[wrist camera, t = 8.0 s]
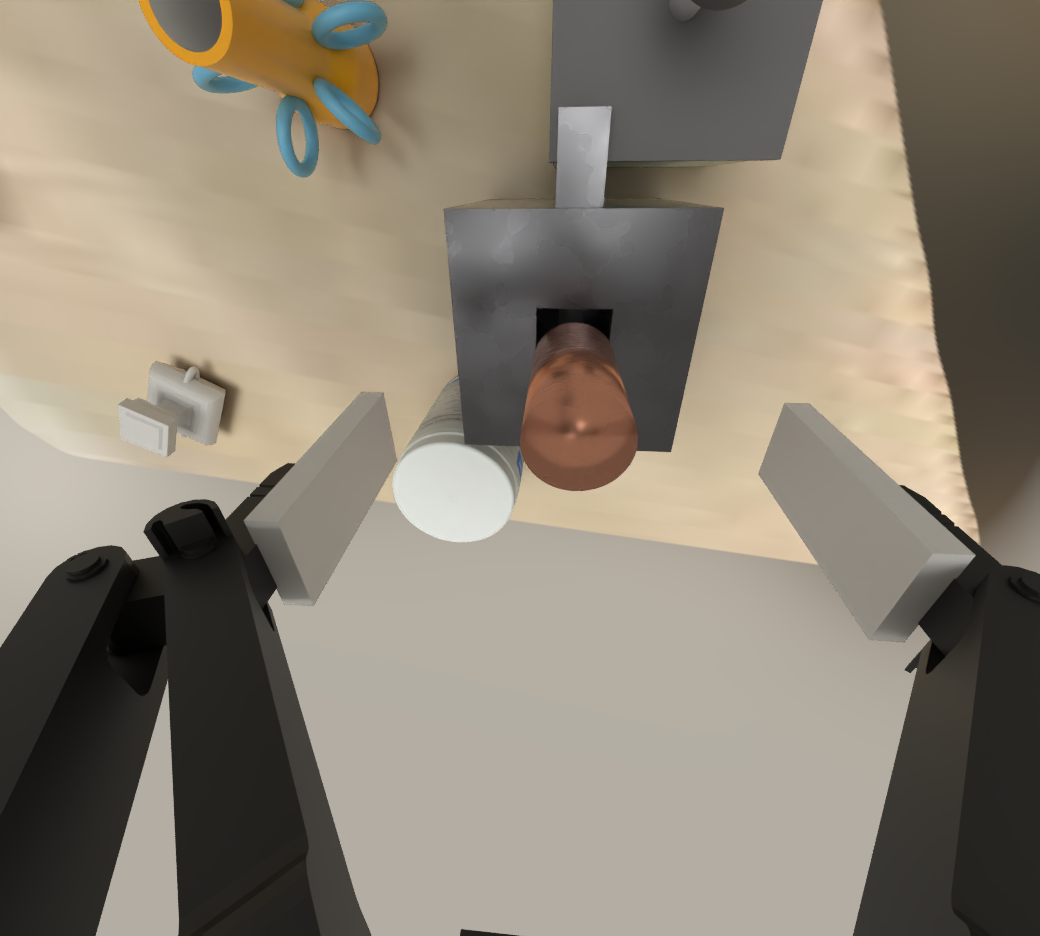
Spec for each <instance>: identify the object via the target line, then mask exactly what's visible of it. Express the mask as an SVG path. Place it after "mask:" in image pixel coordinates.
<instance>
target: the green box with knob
mask: <svg viewBox="0 0 1040 936" xmlns="http://www.w3.org/2000/svg"><path fill="white" fill-rule="evenodd" d="M822 1H823V0H553V32H552V72H551V111H550V151H549V162H550V163H553V164H554V167H555V168H557V145H558V115H559V107H599V106H612V110H611V121H610V133H609V145H608V156H607V167H677V166H711V165H718V164H726V163H734V162H742V161H751V160H779V159H781V156H782V152H783V148H784V145H785V141H786V137H787V133H788V130H789V126H790V122H791V118H792V114H793V111H794V107H795V103H796V99H797V96H798V92H799V88H800V84H801V81H802V77H803V73H804V69H805V66H806V62H807V58H808V54H809V50H810V47H811V43H812V39H813V35H814V32H815V28H816V24H817V20H818V17H819V13H820V9H821V5H822Z"/></svg>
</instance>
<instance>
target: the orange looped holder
mask: <svg viewBox="0 0 1040 936" xmlns="http://www.w3.org/2000/svg"><path fill="white" fill-rule="evenodd" d="M139 3H140V6H141V9H142V11H143V13H144V16H145V18H146V20H147V22H148V23H149V25H150V27H151V29H152V30H153V32H154V33H155V35H156V36H157V37H158V39H159V40H160V41H161V42H162V43H163V44H164V46H165V47H166V48H167V49H168V50H169V51H171V52H172V53H173V54H174V55H176V56H177V57H178V58H180V59H182V60H183V61H185V62H187V63H190V64H193V65H196V66H195V67H194V69H193V73H192V75H193V79H194V81H195V83H196V84H197V85H198V86H199V87H200V88H202V89H203V90H205V91H208V92H213V93H235V92H241V91H245V90H249V89H252V88H255V87H257V86H260V87H263V88H267V89H270V90H273V91H276V92H278V94H279V95H280V97H281V98H282V100H281V102H280V104H279V107H278V110H277V117H276V132H277V139H278V144H279V148H280V152H281V155H282V157H283V159H284V161H285V163H286V165H287V167H288V168H289V169H290V170H291V172H292V173H294V174H295V175H297V176H299V177H308V176H310V175H311V174H312V173H313V171H314V170H315V167H316V164H317V160H318V153H319V141H318V132H317V127H316V123H319V124H323V125H327V126H331V127H335V128H341V129H350V130H351V131H352V132H353V133H355V134H356V135H358V136H359V137H360V138H362V139H363V140H365V141H367V142H369V143H371V144H377V143H379V142H380V140H381V133H380V131H379V129H378V127H377V126H376V124H375V123H374V122H373V120H372V119H371V118H370V117H369V116H370V114H371V113H372V111H373V109H374V107H375V104H376V100H377V96H378V74H377V68H376V64H375V61H374V58H373V55H372V53H371V50H370V48H369V46H368V45H367V43H370V42H372V41H374V40H375V39H377V38H378V37H379V36H381V35H382V34H383V32H384V31H385V29H386V26H387V17H386V14H385V12H384V10H383V9H382V8H381V7H380V6H379V5H377V4H375V3H372V2H368V1H349V2H344V3H340V4H337V5H334V6H332V7H330V8H328V7H327V6H326V5H324V4H323V3H321V2H319V1H317V0H139ZM355 22H367V23H366V24H364V25H362V26H360V27H357V28H354V27H353V26H352V25H351V24H350V23H355ZM222 74H224V75H227V77H217V76H219V75H222ZM294 112H296V113H297V114H298V115H300V117H301V119H302V122H303V125H304V129H305V136H306V152H305V157H304V160H303V161H302V163H300V162H299V161H298V160H297V158H296V155H295V153H294V150H293V145H292V140H291V121H292V116H293V114H294ZM315 122H316V123H315Z"/></svg>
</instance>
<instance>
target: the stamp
mask: <svg viewBox="0 0 1040 936" xmlns="http://www.w3.org/2000/svg"><path fill="white" fill-rule="evenodd" d="M225 391H226V390H225V389H223V388H221V387H219V386H217V385H215V384H213V383H211V382H209V381H207V380H205V379H203V378H201V377H200V374H199V368H198V367H196V366H192V367H190V368H189V369H188V371H186V370H184V369H181V368H177V367H174V366H171V365H168V364H165V363H160V362H158V361H156V362H154V363H153V364H152V365H151V367H150V369H149V383H148V397H147V401H145V400H143V399H139V398H137V399H135V400H130V399H128V398H127V399H125V400H124V401H123V402H121V403H120V404H119V405H118V408H119V422H120V436H121V439H122V440H124V441H127V442H129V443H132V444H134V445H137V446H140V447H142V448H145V449H147V450H150V451H152V452H155V453H157V454H160V455H162V456H165V457H168V456H169V455H171V454H172V453H173V452H174V451H175V444H176V432H178V433H179V436H181V437H189V438H191V439H193V440H196V441H198V442H200V443H202V444H204V445H212V444H214V443H216V441H217V435H218V430H219V425H220V419H221V414H222V409H223V403H224V398H225Z"/></svg>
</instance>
